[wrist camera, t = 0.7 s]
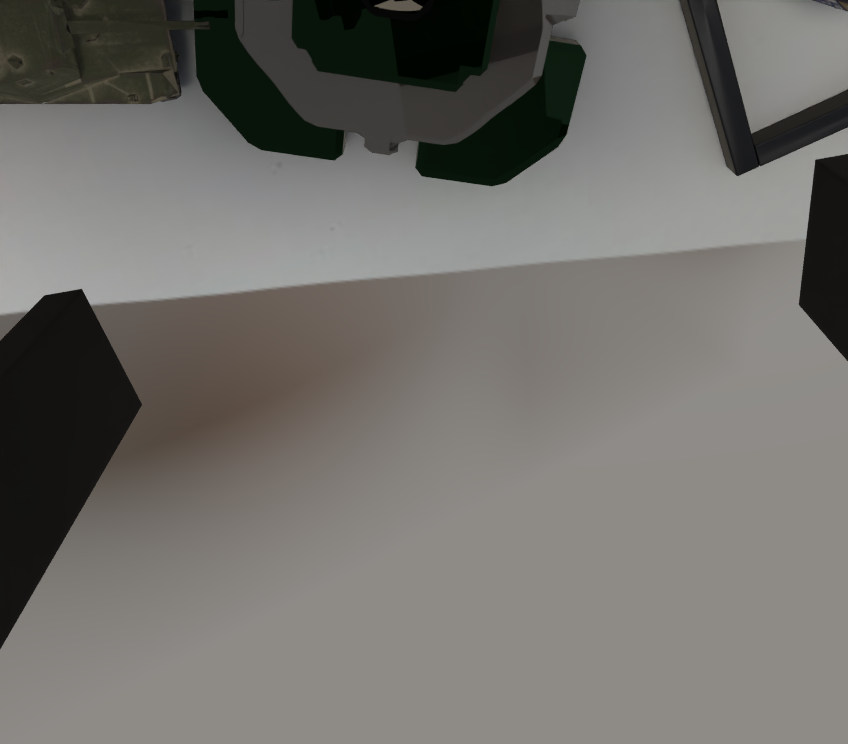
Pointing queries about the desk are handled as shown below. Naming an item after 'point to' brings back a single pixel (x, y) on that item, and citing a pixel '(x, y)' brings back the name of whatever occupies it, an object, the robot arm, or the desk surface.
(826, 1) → the pill bottle
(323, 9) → the clover-shaped pad
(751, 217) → the desk surface
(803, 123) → the black flat square frame
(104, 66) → the toy tank
